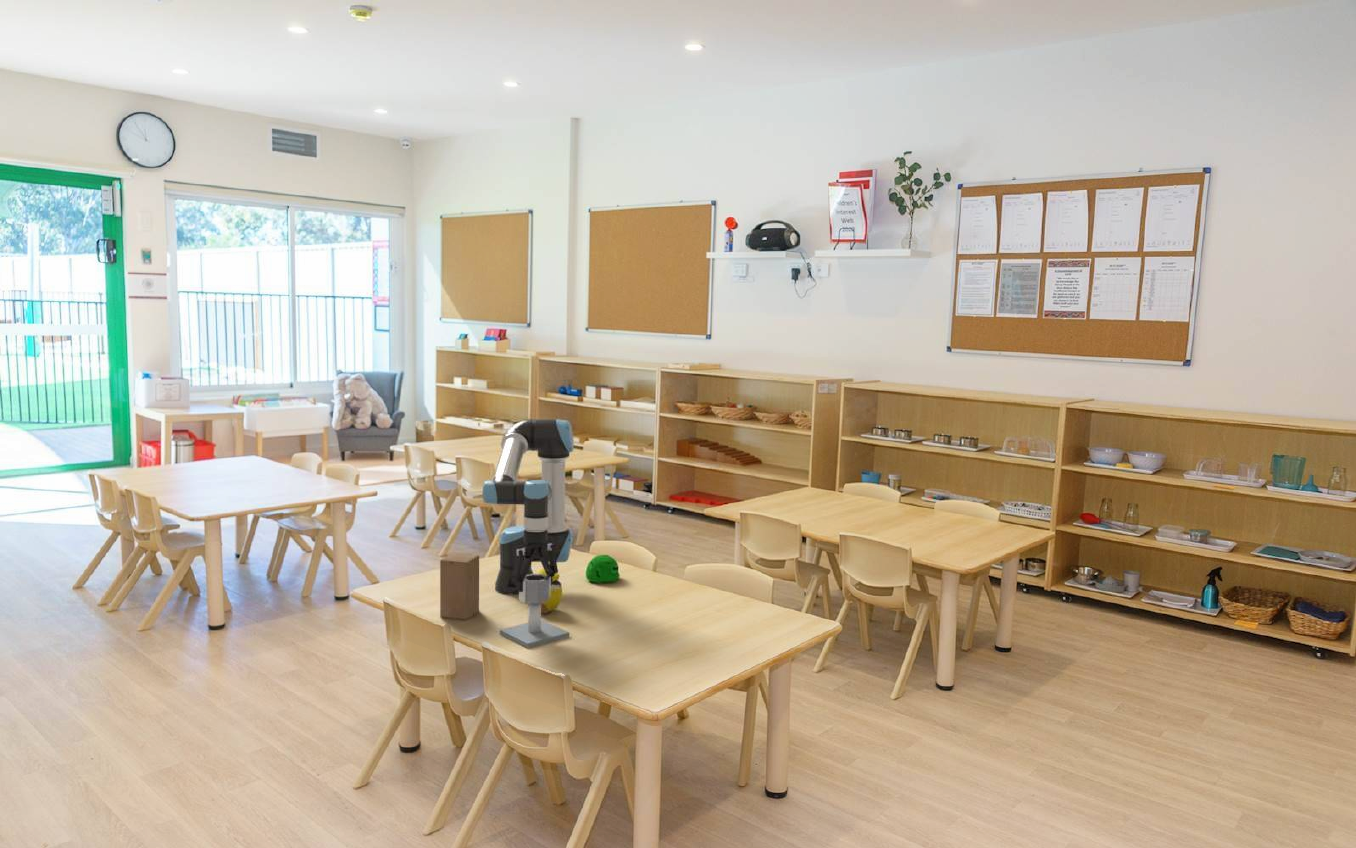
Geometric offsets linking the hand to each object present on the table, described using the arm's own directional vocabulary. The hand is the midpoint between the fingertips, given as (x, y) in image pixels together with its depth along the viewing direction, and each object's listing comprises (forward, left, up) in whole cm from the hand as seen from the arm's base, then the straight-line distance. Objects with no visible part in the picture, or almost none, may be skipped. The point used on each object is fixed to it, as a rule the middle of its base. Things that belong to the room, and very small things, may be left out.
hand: (534, 598), depth 292 cm
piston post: (0, 0, -12) cm, 12 cm away
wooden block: (+8, -33, -13) cm, 36 cm away
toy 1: (-17, -18, -13) cm, 28 cm away
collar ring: (0, 0, 0) cm, 0 cm away
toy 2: (-56, -35, -13) cm, 67 cm away
